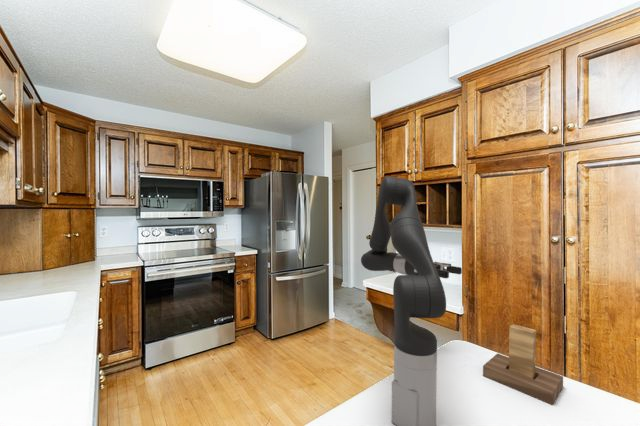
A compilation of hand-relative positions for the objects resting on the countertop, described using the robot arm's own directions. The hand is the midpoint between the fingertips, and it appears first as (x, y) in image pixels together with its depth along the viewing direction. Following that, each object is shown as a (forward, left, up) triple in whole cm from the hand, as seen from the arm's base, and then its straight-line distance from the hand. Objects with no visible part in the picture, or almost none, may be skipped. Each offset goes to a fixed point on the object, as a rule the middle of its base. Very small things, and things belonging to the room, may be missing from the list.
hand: (455, 273), depth 91 cm
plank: (+4, -17, -28) cm, 33 cm away
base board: (+4, -17, -28) cm, 33 cm away
